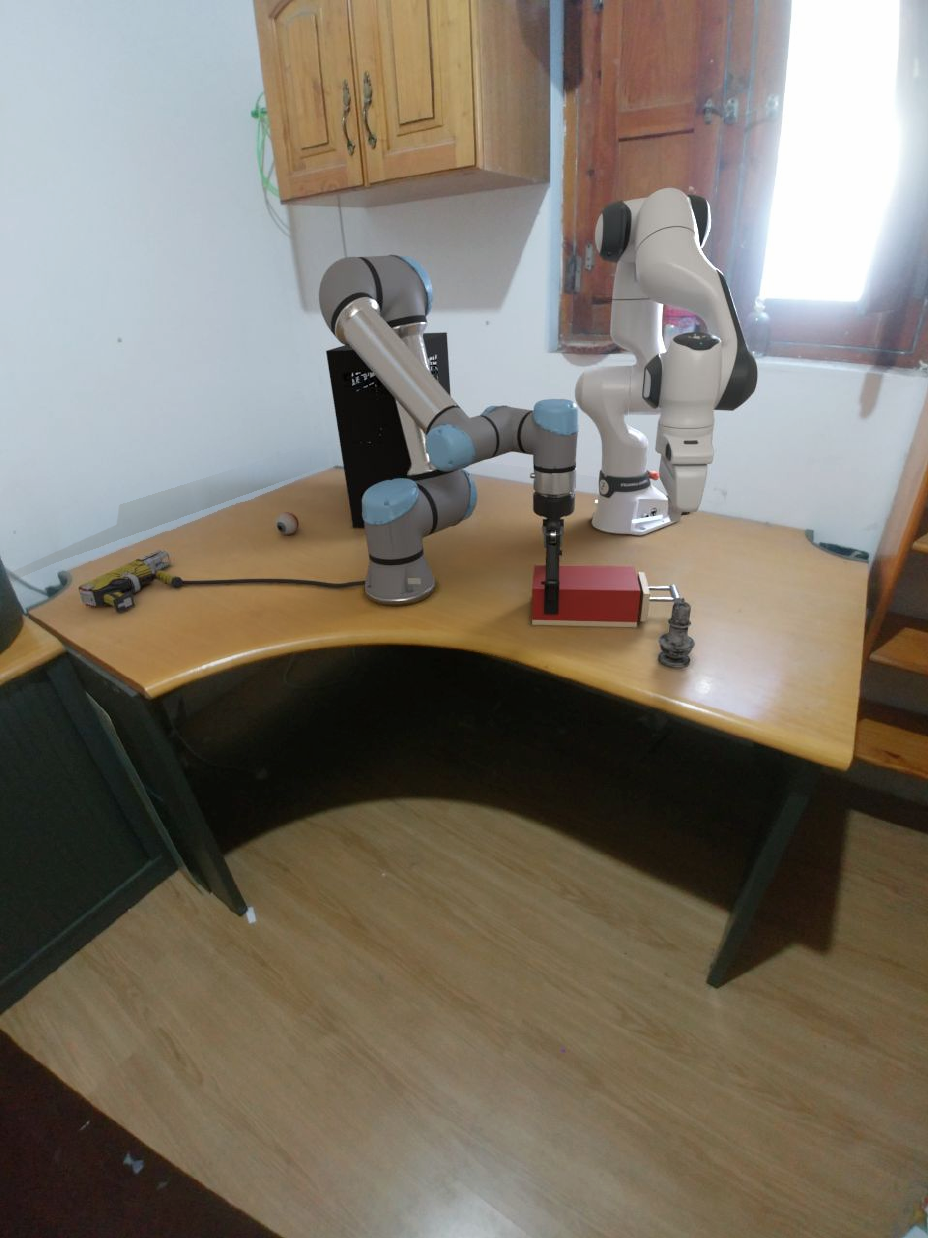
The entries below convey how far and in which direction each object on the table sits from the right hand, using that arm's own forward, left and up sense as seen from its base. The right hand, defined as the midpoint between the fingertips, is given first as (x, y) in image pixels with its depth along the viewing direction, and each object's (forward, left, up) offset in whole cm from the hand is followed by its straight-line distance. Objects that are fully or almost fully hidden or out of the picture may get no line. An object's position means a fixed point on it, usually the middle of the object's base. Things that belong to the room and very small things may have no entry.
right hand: (673, 518), depth 108 cm
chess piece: (+9, +13, -20) cm, 25 cm away
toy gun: (+93, -67, -20) cm, 116 cm away
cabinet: (+13, -8, -20) cm, 25 cm away
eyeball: (+57, -84, -20) cm, 103 cm away
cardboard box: (+21, -88, -20) cm, 92 cm away
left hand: (+18, -12, -17) cm, 27 cm away
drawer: (+8, -5, -19) cm, 21 cm away
